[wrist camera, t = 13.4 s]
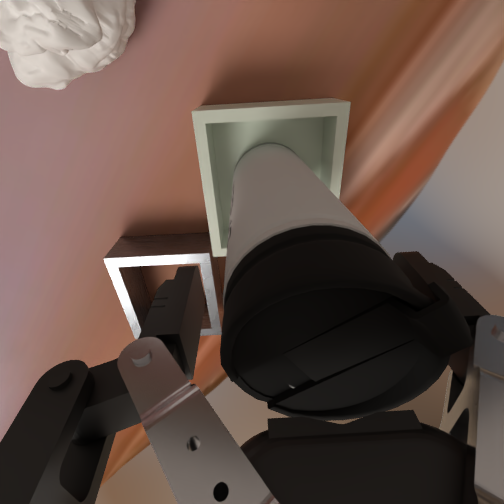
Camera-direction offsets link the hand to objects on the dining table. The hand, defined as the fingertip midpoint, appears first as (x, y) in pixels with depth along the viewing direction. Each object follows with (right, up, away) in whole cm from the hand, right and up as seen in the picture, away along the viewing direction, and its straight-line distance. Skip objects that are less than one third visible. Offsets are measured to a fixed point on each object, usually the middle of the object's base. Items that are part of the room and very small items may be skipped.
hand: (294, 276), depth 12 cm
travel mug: (0, +8, +13) cm, 15 cm away
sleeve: (-10, -2, +20) cm, 22 cm away
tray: (0, +8, +14) cm, 16 cm away
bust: (-12, +18, +8) cm, 23 cm away
